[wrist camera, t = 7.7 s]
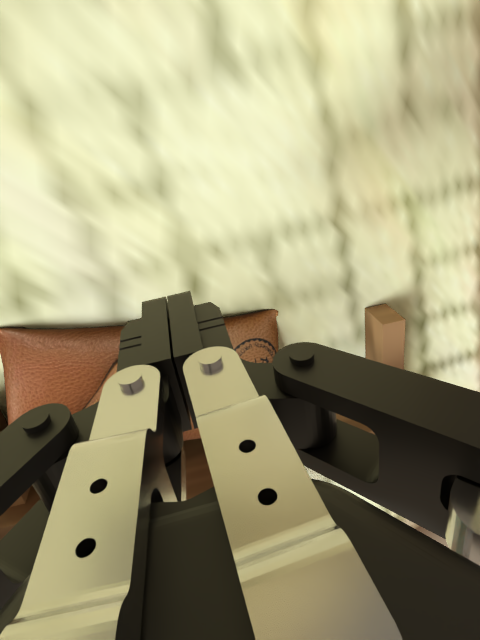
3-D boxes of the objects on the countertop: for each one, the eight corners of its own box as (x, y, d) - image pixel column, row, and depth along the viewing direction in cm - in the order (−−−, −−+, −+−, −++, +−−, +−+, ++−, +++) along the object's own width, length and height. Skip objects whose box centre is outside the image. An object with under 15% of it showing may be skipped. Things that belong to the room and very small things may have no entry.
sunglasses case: (285, 301, 27) (311, 398, 23) (268, 353, 33) (287, 437, 29) (-20, 326, 24) (-42, 442, 20) (22, 378, 30) (11, 475, 26)
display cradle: (-38, 401, 26) (-86, 475, 21) (389, 302, 29) (443, 346, 23) (17, 494, 30) (-12, 577, 24) (387, 400, 32) (433, 456, 27)
